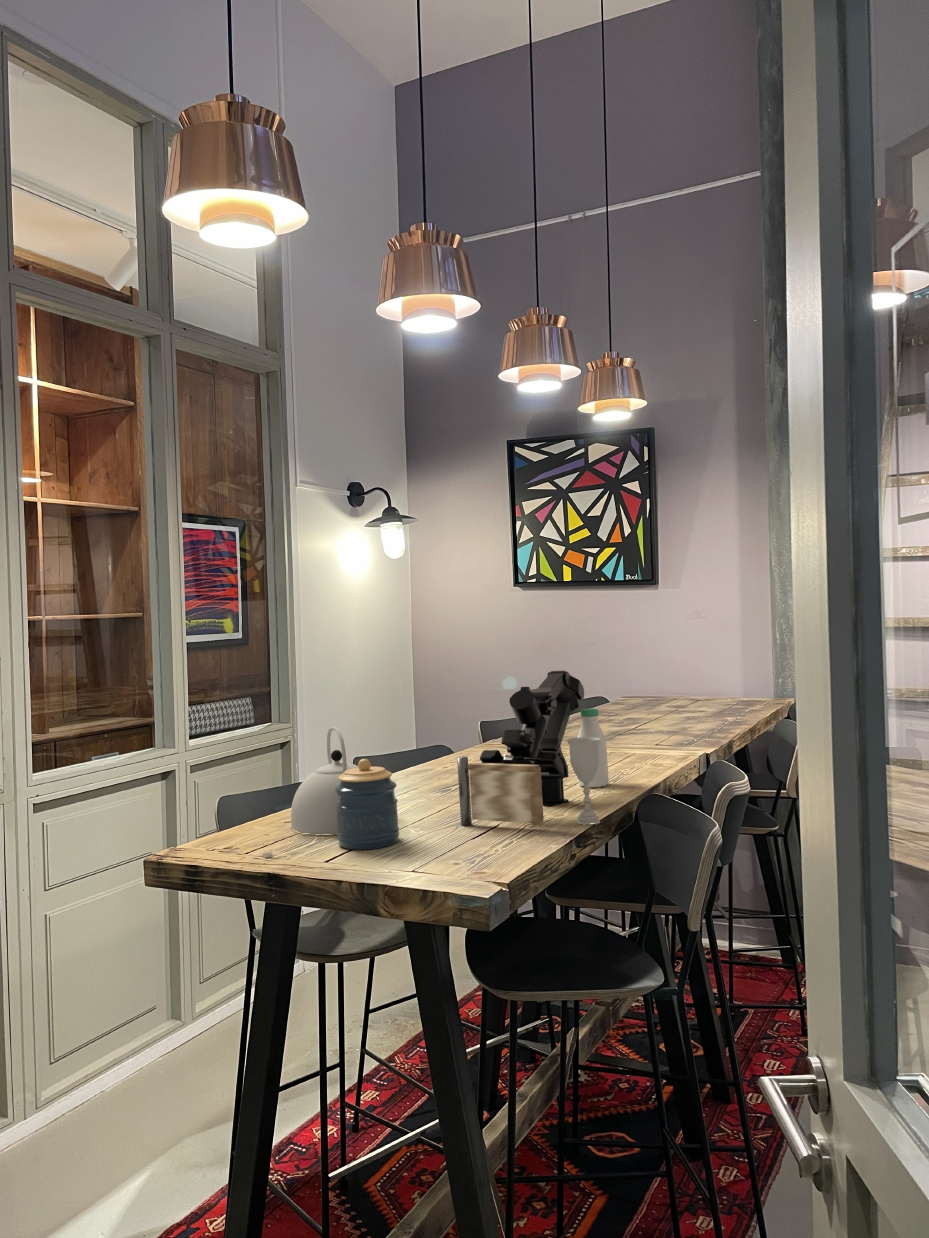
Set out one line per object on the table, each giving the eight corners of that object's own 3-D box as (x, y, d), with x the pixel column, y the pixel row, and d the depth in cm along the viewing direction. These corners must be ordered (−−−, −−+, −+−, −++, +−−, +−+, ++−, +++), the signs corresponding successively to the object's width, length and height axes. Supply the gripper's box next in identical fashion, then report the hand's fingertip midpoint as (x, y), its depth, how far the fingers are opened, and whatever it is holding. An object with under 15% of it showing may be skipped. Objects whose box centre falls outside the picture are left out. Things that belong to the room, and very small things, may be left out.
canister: (347, 854, 183) (342, 766, 183) (330, 841, 195) (325, 758, 195) (408, 844, 188) (403, 759, 188) (388, 832, 200) (383, 751, 200)
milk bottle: (613, 783, 239) (609, 707, 239) (601, 789, 233) (596, 711, 233) (586, 782, 244) (582, 707, 244) (574, 787, 237) (569, 710, 237)
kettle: (282, 819, 221) (276, 726, 221) (373, 807, 229) (368, 717, 228) (300, 840, 197) (294, 737, 197) (401, 826, 205) (395, 726, 205)
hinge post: (467, 823, 204) (463, 756, 204) (474, 824, 202) (469, 757, 202) (458, 824, 203) (454, 757, 203) (465, 826, 201) (461, 758, 201)
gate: (471, 820, 201) (467, 764, 201) (475, 818, 202) (472, 762, 202) (539, 825, 192) (536, 766, 192) (543, 823, 194) (540, 764, 194)
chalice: (608, 818, 200) (603, 737, 200) (602, 826, 193) (597, 741, 193) (575, 818, 202) (570, 737, 202) (568, 825, 196) (563, 742, 196)
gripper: (481, 714, 209) (459, 771, 200) (555, 714, 200) (537, 774, 191) (498, 744, 216) (479, 799, 207) (571, 745, 207) (554, 803, 197)
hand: (511, 793), depth 200 cm, fingers closed
